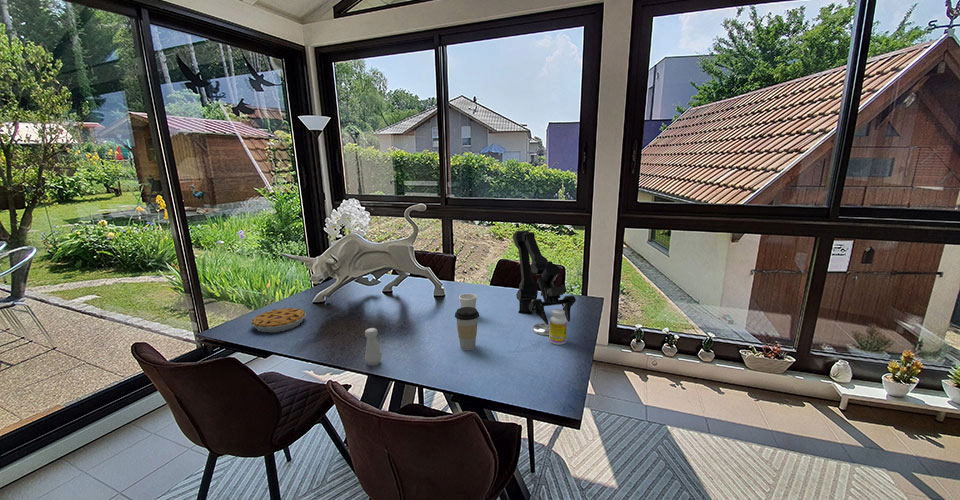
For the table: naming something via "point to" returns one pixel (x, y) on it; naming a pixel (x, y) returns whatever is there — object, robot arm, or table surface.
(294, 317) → the pie
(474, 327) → the coffee cup
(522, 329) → the table surface
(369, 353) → the salt shaker
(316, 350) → the table surface
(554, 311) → the supplement bottle
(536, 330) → the rosette plate
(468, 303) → the dixie cup
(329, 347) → the table surface
